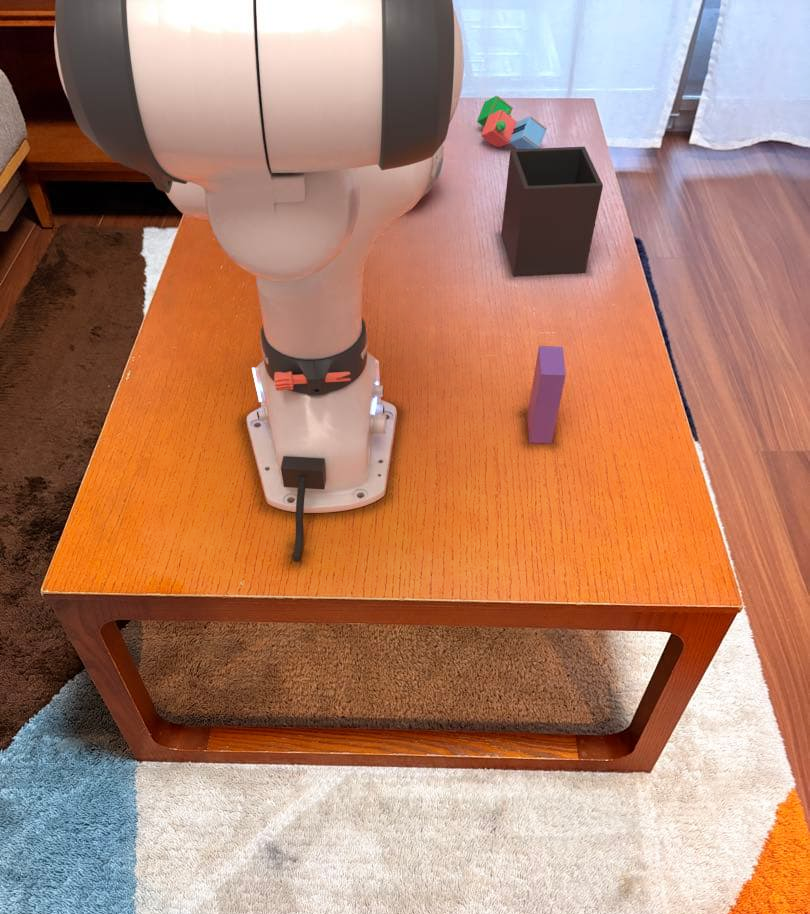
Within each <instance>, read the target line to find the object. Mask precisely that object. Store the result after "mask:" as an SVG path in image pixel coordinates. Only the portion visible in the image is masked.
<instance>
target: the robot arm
mask: <svg viewBox="0 0 810 914" xmlns="http://www.w3.org/2000/svg"><path fill="white" fill-rule="evenodd" d="M453 1H454V0H55V4H54V5H55V6H54V8H55V9H54V32H53V42H54V43H53V44H54V54H55V61H56V62H55V63H56V67H57V71H58V76H59V79H60V82H61V86H62V89H63V91H64V94H65V96H66V98H67V101H68V103H69V106H70V109H71V113H72V114H73V117H74V119H75V122H76V124H77V126H78V127H79V129H80V131H81V133H83V135H85V137H87V139H88V140H90V141H91V142H92V143H93V144H94V145H95V146H96V147H97V148H99V150H101V152H103V153H104V154H105V155H106V156H107V157H108V158H110V159H111V160H112V161H114V162H116V163H118V164H120V165H123V166H125V167H127V168H129V169H131V170H134V171H136V172H139V173H141V174H145V175H147V176H148V177H149V178H150V179H151V181H152V183H153V184H154V187H155V188H156V189H157V190H159V191H161V192H164V193H165V195H166V196H167V198H168V199H169V201H170V202H171V203H172V204H173V206H174V207H175V208H176V209H177V210H178V211H179V212H180V213H181V214H182V215H184V216H185V217H187V218H191V219H196V220H202V221H207V222H209V225H210V228H211V230H212V232H213V235H214V237H215V239H216V241H217V243H218V244H219V246H220V247H221V250H222V251H223V252H224V253H225V254H226V255H227V256H228V258H229V259H230V260H232V262H233V263H235V265H237V267H239V268H241V269H242V270H244V271H245V272H246V273H249V274H250V275H252V276H255V283H256V284H255V285H256V290H257V297H258V303H259V308H260V315H261V321H262V324H261V329H260V347H261V353H262V358H263V359H262V360H261V361H260V362H259V363H258V364H257V366H256V367H251V370H252V375H253V379H254V384H255V389H256V393H257V397H258V398H257V399H258V402H259V403H260V407H258V408H256V409H255V410H252V411H251V412H249V414H247V416H246V428H247V431H248V436H249V440H250V444H251V447H252V451H253V455H254V458H255V463H256V467H257V471H258V474H259V478H260V483H261V487H262V490H263V491H262V492H263V495H264V499H265V501H266V503H267V504H268V505H269V506H271V507H273V508H276V509H278V510H282V511H286V512H293V513H295V542H294V549H293V554H292V557H291V559H292V561H295V562H299V561H300V560H301V557H302V551H303V547H304V534H305V533H304V531H305V529H304V514H322V513H323V514H324V513H325V514H327V513H333V512H334V513H336V512H344V511H350V510H354V509H355V510H356V509H359V508H362V507H366V506H369V505H371V504H373V503H375V502H377V501H379V500H381V499H382V498H383V497H385V495H386V492H387V485H388V479H389V472H390V466H391V461H392V460H391V459H392V453H393V448H394V447H393V446H394V441H395V435H396V434H395V433H396V426H397V420H398V412H397V411H398V410H397V408H396V406H395V405H394V404H393V403H391V402H388V401H387V400H383V399H381V398H383V397H384V385H383V384H381V374H380V372H381V371H380V361H379V360H378V359H377V358H376V357H374V356H373V355H372V354H371V353H370V352H368V346H369V345H368V343H369V341H368V333H367V327H366V322H365V320H364V317H363V316H362V315H363V313H362V296H363V295H362V293H363V278H364V271H365V267H366V263H367V261H368V258H369V256H370V253H371V251H372V249H373V248H374V246H375V245H376V243H377V241H378V240H379V239H380V237H381V236H382V235H383V234H384V232H385V231H387V229H388V228H389V227H390V226H391V225H392V224H393V223H394V222H395V221H397V220H398V219H399V218H401V217H402V215H404V214H406V213H408V212H410V210H413V208H414V207H415V206H416V205H417V204H418V202H420V201H421V198H423V197H422V195H423V194H424V192H425V190H426V188H427V186H428V184H429V181H430V178H431V174H432V169H433V160H434V154H435V153H436V151H437V150H438V149H439V147H440V146H441V145H442V144H443V145H444V142H445V141H446V139H447V137H448V132H449V127H450V125H451V122H452V120H453V118H454V116H455V113H456V111H457V107H458V104H459V102H460V101H459V100H460V97H461V93H462V88H463V81H464V73H465V55H464V54H465V53H464V43H463V38H462V32H461V28H460V24H459V21H458V16H457V14H456V11H455V9H454V2H453Z"/></svg>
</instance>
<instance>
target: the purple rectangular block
mask: <svg viewBox="0 0 810 914" xmlns="http://www.w3.org/2000/svg"><path fill="white" fill-rule="evenodd" d="M535 361H536V362H535V368H534V374H533V378H532V385H531V390H530V391H531V392H530V396H529V403H528V409H527V413H526V414H527V415H526V416H527V417H526V418H527V430H528V443H529V444H549V445H551V444H552V443H553V439H554V433H555V429H556V425H557V420H558V416H559V409H560V404H561V400H562V394H563V392H564V391H563V390H564V386H565V381H566V376H567V374H566V373H567V372H566V364H565V354H564V347H563V346H553V345H551V346H549V345H538V348H537V355H536V360H535Z"/></svg>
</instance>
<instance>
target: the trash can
mask: <svg viewBox="0 0 810 914" xmlns="http://www.w3.org/2000/svg"><path fill="white" fill-rule="evenodd" d="M507 169H508V170H507V177H506V187H505V198H504V205H503V206H504V207H503V217H502V225H501V234H500V236H501V237H500V238H501V240H502V243H503V246H504V250H505V253H506V256H507V260H508V263H509V267H510V270H511V273H512V276H513V277H527V276H528V277H529V276H544V275H545V276H547V275H548V276H549V275H567V274H585V273H586V270H587V266H588V261H589V255H590V252H591V246H592V243H593V242H592V241H593V238H594V237H593V236H594V231H595V226H596V223H597V222H596V221H597V218H598V217H597V216H598V212H599V207H600V204H601V197H602V193H603V189H604V187H603V186H604V185H603V184H604V183H603V182H602V180H601V178H600V176H599V173H598V171H597V169H596V166H595V164H594V163H593V160H592V159H591V157H590V155H589V152H588V150H587V148H586V146H564V147H563V146H562V147H540V148H536V149H517V148H514V149H513V148H512V149H510V150H509V160H508V168H507Z"/></svg>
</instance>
